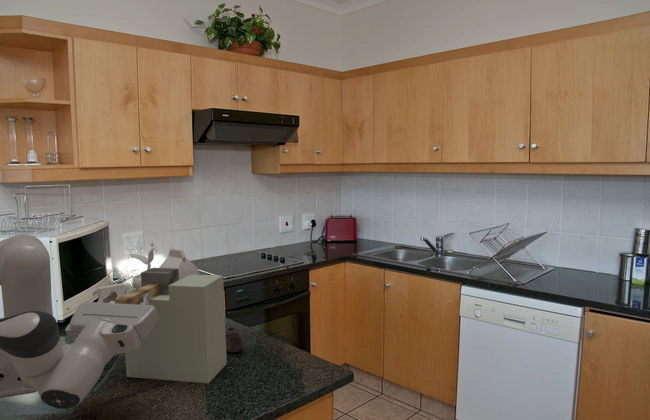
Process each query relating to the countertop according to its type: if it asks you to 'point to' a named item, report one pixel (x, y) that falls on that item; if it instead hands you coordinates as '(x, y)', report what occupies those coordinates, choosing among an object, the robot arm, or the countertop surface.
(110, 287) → the cylinder with rectangular tab
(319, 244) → the countertop surface
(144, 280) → the mallet
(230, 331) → the perforated stone tool
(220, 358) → the block
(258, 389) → the countertop surface
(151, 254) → the potted plant
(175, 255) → the milk
